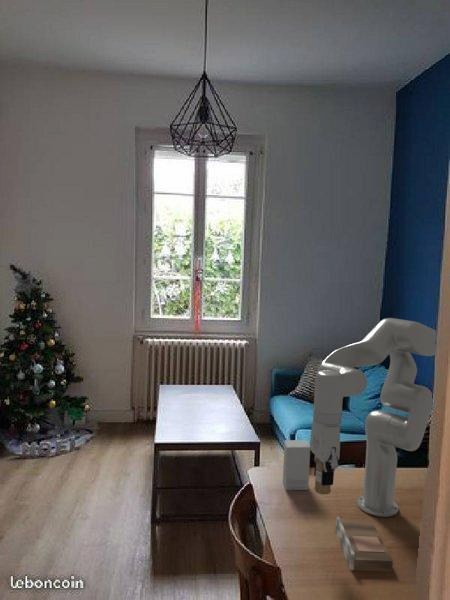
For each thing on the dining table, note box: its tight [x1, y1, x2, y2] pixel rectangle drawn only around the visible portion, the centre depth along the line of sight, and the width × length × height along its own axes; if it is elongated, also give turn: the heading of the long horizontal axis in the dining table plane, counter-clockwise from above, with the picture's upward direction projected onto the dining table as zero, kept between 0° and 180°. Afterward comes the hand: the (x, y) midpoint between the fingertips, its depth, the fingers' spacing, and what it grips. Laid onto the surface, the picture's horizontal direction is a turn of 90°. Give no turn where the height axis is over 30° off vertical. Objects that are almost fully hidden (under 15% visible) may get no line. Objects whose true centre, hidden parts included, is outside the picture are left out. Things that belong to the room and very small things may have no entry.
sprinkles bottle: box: [313, 458, 332, 495], centre depth 142 cm, size 5×5×14 cm
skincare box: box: [282, 439, 311, 491], centre depth 177 cm, size 8×7×16 cm
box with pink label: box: [334, 516, 394, 573], centre depth 142 cm, size 18×11×4 cm, turn 0°
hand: (323, 479), depth 142 cm, fingers closed on sprinkles bottle, 4 cm apart
